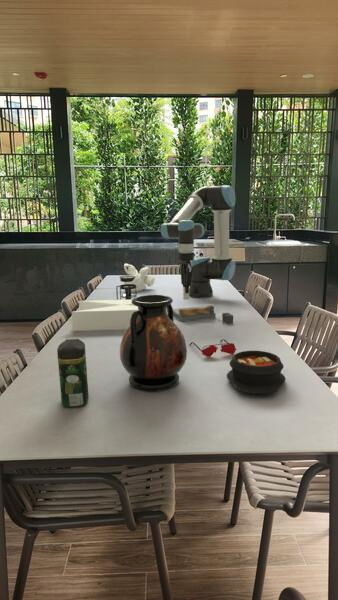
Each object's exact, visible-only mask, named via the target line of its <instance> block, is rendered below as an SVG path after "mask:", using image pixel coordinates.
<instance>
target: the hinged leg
mask: <svg viewBox="0 0 338 600" xmlns="http://www.w3.org/2000/svg"><path fill="white" fill-rule="evenodd" d="M193 307H194V308H189V307H182V308H183V309H179V315H180V316H190V315H200V314H212V313H215V305H205V306H204V307H200V306H193Z"/></svg>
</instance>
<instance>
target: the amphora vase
mask: <svg viewBox="0 0 338 600" xmlns="http://www.w3.org/2000/svg"><path fill="white" fill-rule="evenodd" d="M131 299H132V301H131V302H132V304H133V305H135V306H137V307H138V311H135V312H133V314H132V316H131V319H130V326H129V327H128V328H127V329H125V331H124V334H123V336H122V337H121V338H122V339H121V342H120V346H119V358H120V362H121V364H122V367H123V369H124V370H125V371H126V372H127V373H128V374H129V376H128V382H129V384H130V385H131V386H132V387H133V388H135V389H138V390H142V391H146V390H147V391H148V392H159V391H164V389H165V390H167V389H168V390H169V389H170V388H173V387H174V386H176V385H177V384H178V383H179V381H180V375H179V372H180V371H181V370H182V369H183V367H184V366H185V364H186V361H187V357H188V356H187V353H188V350H187V345H186V344H187V343H186V339H185V336H184V334H183V332H182V330H181V328H179V326H178V325H177V324H176V323H175V322H174V316H173V309H174V308H173V306H172V304H173V298H172V297H170V296H168V295H164V294H145V295H144V294H143V295H138V296H137V297H133V298H131ZM166 307H167V312H168V315H167V313H166ZM158 390H159V391H158Z"/></svg>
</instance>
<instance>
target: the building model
mask: <svg viewBox="0 0 338 600" xmlns="http://www.w3.org/2000/svg"><path fill="white" fill-rule="evenodd" d="M132 299H133V298H131V299H130V300H125V299H121V300H120V299H118V300H117V299H103V300H102V299H100V300H99V299H98V300H97V299H96V300H79V301H78V307H79V310H76V311H75V310H73V311H71V323H72V331H73V332H77V331H78V332H79V331H80V332H83V331H85V332H86V331H113V330H114V331H117V330H118V331H119V330H127V328H128V327H129V326H130V319H131V316H132V314H133V312H135V311H138V307H137V306H135V305H133V304H132V302H131V301H132ZM166 313H167V315H168V312H167V307H166Z"/></svg>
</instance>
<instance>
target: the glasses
mask: <svg viewBox="0 0 338 600" xmlns="http://www.w3.org/2000/svg"><path fill="white" fill-rule="evenodd" d="M222 342H225V343H222ZM188 345H189V346H191V345H194V346H195V347H196V348H197V349H198V350H199V351H200V352H201V354H202V355H203V356H205V357H206V358H210V357H212V355H213V354H214V353H217V352H218V351H217V350H218V349H219V348H218V347H217V346H220V347H221V349H220V352H222V353H225V354H230V355H235V354H234V353H235V352H236V350H237V348H236V346H235V343H232V342H230V343H229V342H228V341H227V340H226V339H224V338H223V339H220V343H219V344H217V343H216V345H215V344H210V345H205V346H203V348H200V347H199V345H197V344H196V343H195V342H193V341H192V342H190V344H188Z"/></svg>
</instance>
